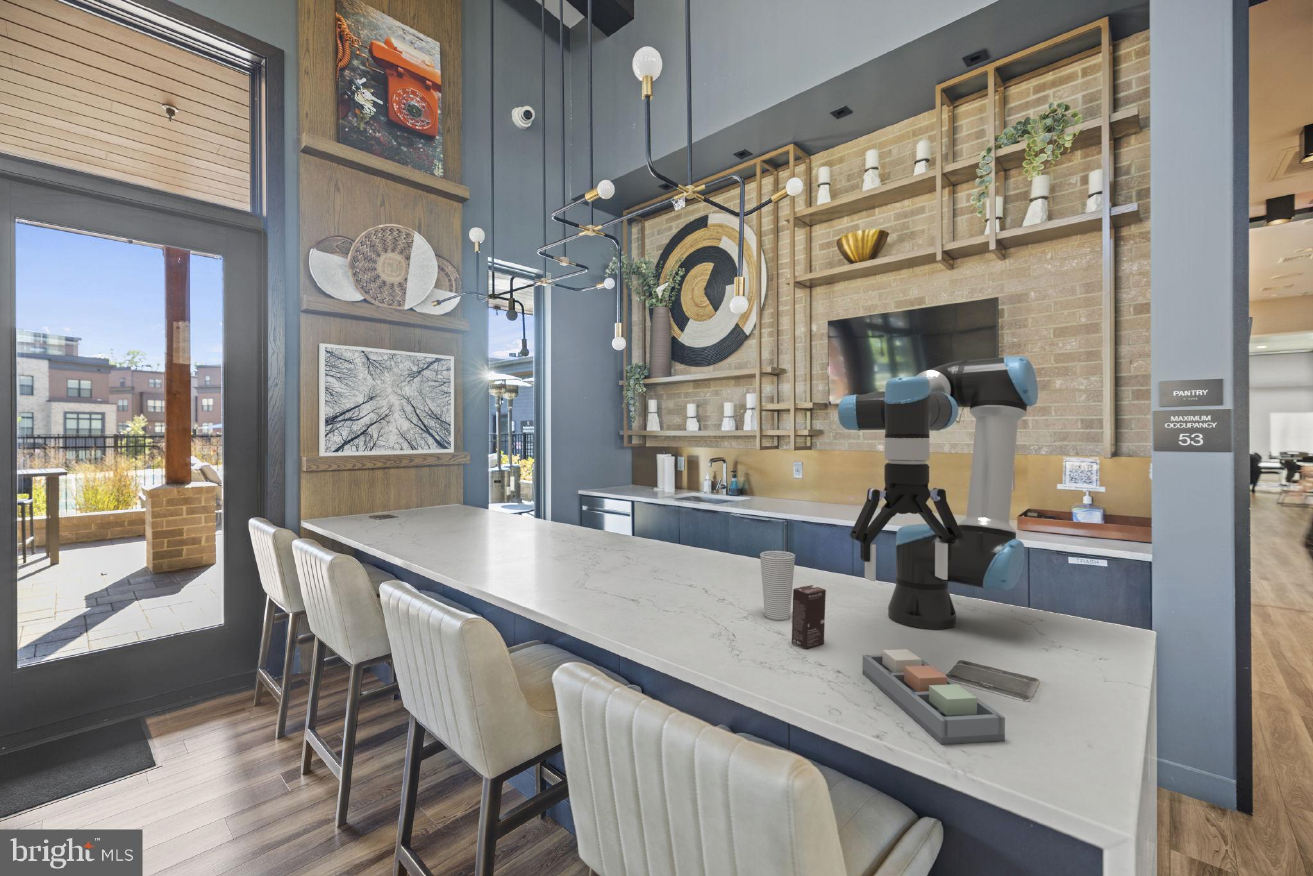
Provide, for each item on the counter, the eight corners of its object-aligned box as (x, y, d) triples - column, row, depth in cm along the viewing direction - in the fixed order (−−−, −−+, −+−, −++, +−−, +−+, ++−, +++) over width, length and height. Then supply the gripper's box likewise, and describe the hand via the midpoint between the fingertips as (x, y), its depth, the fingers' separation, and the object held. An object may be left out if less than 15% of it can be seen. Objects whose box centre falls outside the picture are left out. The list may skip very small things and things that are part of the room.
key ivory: (907, 662, 108) (907, 649, 107) (921, 673, 103) (921, 659, 103) (882, 663, 107) (882, 650, 107) (895, 674, 102) (895, 660, 102)
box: (807, 650, 121) (807, 593, 121) (791, 643, 125) (791, 588, 125) (826, 644, 124) (826, 588, 124) (810, 638, 128) (810, 584, 128)
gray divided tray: (912, 671, 110) (912, 653, 110) (1004, 740, 86) (1004, 717, 85) (862, 673, 109) (862, 655, 109) (941, 744, 84) (941, 720, 84)
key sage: (957, 699, 93) (957, 684, 93) (976, 714, 88) (977, 697, 88) (928, 701, 92) (929, 685, 92) (947, 715, 87) (947, 699, 87)
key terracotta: (930, 679, 100) (930, 665, 100) (947, 692, 95) (947, 677, 95) (904, 680, 100) (904, 666, 100) (919, 693, 95) (919, 678, 95)
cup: (799, 615, 144) (799, 553, 144) (787, 624, 137) (788, 559, 137) (767, 609, 149) (767, 549, 149) (754, 618, 142) (754, 555, 142)
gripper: (958, 461, 110) (957, 572, 110) (832, 461, 108) (831, 574, 108) (984, 463, 103) (983, 582, 103) (849, 463, 100) (848, 585, 101)
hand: (905, 578), depth 105 cm, fingers open, 13 cm apart
